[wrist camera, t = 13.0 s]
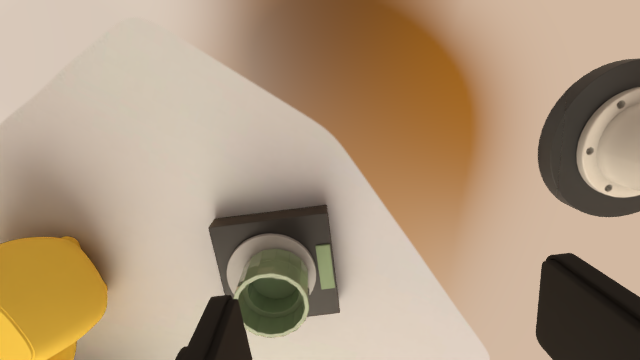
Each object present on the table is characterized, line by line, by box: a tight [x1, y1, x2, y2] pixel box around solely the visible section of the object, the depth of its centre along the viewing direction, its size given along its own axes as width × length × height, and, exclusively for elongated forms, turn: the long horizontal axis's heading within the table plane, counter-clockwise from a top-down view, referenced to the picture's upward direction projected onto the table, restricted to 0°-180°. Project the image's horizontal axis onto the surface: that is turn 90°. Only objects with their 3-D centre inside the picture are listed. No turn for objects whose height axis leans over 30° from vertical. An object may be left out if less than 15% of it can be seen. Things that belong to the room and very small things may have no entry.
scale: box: [209, 205, 340, 317], centre depth 37 cm, size 13×13×3 cm
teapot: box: [0, 236, 108, 360], centre depth 33 cm, size 13×20×12 cm
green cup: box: [234, 249, 310, 338], centre depth 33 cm, size 7×7×5 cm
